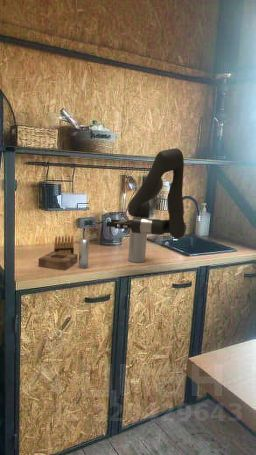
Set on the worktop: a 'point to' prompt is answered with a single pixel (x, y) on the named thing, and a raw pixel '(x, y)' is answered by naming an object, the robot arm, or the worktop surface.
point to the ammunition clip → (64, 245)
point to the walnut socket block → (58, 260)
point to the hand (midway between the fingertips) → (109, 222)
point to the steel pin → (83, 253)
